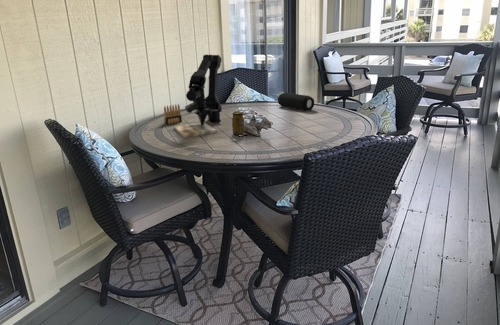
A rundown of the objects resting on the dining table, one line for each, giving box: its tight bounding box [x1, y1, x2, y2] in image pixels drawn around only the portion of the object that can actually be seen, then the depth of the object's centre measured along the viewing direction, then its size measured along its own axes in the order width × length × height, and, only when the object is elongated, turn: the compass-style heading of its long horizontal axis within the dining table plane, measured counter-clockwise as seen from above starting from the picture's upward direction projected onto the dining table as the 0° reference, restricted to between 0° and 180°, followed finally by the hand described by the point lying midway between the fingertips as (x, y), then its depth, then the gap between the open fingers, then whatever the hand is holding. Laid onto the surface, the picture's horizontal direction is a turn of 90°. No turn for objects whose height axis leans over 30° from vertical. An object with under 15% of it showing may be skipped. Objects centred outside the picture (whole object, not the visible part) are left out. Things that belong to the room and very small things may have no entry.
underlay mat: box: [167, 128, 221, 140], centre depth 223 cm, size 23×22×1 cm
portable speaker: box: [277, 92, 315, 112], centre depth 274 cm, size 26×10×10 cm, turn 43°
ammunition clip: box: [163, 103, 183, 125], centre depth 241 cm, size 11×2×12 cm, turn 125°
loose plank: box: [188, 122, 218, 136], centre depth 225 cm, size 9×20×2 cm, turn 26°
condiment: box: [231, 111, 245, 137], centre depth 215 cm, size 7×8×12 cm
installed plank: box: [173, 124, 201, 139], centre depth 221 cm, size 9×20×2 cm, turn 26°
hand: (202, 124), depth 230 cm, fingers closed, pressing on loose plank
